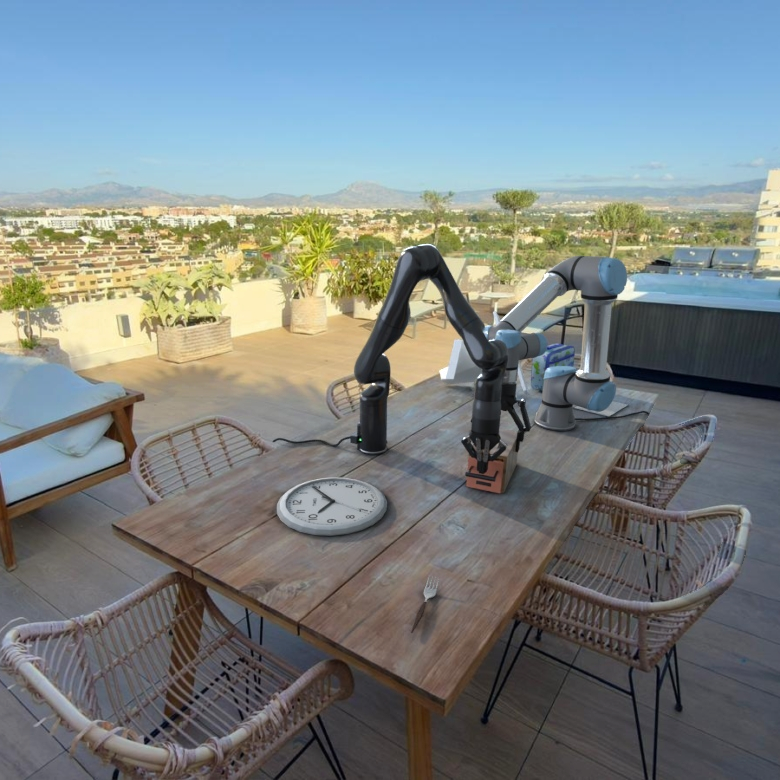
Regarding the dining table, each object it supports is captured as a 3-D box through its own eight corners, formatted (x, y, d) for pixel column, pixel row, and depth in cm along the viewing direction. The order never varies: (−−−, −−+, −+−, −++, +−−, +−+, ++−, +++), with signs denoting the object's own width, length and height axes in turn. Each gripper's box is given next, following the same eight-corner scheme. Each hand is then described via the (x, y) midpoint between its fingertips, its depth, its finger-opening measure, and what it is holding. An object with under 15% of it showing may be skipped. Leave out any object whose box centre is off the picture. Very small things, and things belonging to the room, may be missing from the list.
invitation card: (608, 416, 214) (573, 407, 224) (608, 416, 214) (573, 408, 224) (628, 404, 229) (594, 396, 238) (628, 405, 229) (594, 397, 238)
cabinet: (503, 492, 151) (507, 456, 148) (466, 485, 155) (468, 450, 152) (516, 464, 170) (519, 431, 166) (483, 458, 174) (485, 426, 170)
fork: (404, 633, 98) (405, 624, 97) (428, 582, 112) (428, 574, 112) (418, 637, 97) (418, 628, 97) (440, 584, 111) (440, 576, 111)
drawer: (495, 502, 144) (498, 472, 141) (460, 495, 147) (462, 465, 144) (512, 465, 166) (515, 438, 163) (482, 460, 170) (484, 433, 167)
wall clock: (392, 527, 129) (268, 531, 127) (391, 533, 130) (269, 537, 127) (383, 473, 158) (282, 475, 155) (383, 478, 158) (282, 480, 156)
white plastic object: (461, 429, 252) (437, 405, 227) (444, 352, 274) (420, 323, 250) (535, 404, 240) (518, 377, 215) (510, 326, 262) (492, 293, 237)
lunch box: (547, 395, 239) (552, 351, 233) (526, 390, 247) (530, 347, 240) (574, 384, 257) (579, 343, 251) (554, 380, 264) (558, 339, 258)
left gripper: (458, 414, 139) (455, 473, 144) (508, 422, 135) (503, 482, 140) (466, 406, 146) (462, 463, 151) (513, 413, 141) (508, 471, 146)
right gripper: (463, 379, 160) (459, 445, 167) (542, 389, 152) (534, 458, 158) (469, 373, 167) (465, 437, 174) (545, 382, 158) (538, 449, 165)
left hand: (482, 472), depth 145 cm, fingers closed
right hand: (498, 447), depth 166 cm, fingers closed on cabinet, 11 cm apart
